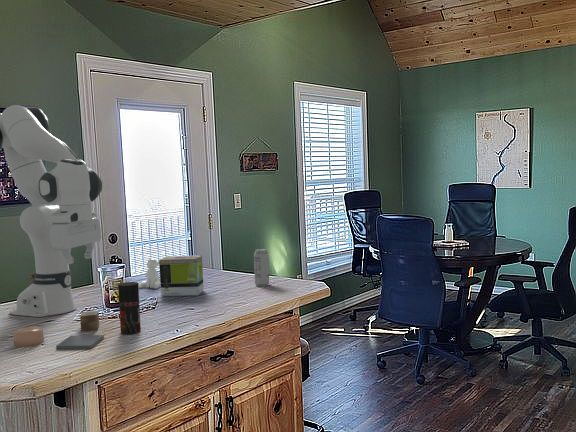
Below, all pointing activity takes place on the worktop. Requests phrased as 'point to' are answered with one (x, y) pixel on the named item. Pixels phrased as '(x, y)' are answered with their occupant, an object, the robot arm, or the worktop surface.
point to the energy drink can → (261, 267)
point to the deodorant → (129, 308)
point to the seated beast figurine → (151, 276)
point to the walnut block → (89, 321)
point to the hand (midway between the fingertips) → (79, 261)
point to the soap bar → (28, 336)
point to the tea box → (181, 275)
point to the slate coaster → (80, 342)
